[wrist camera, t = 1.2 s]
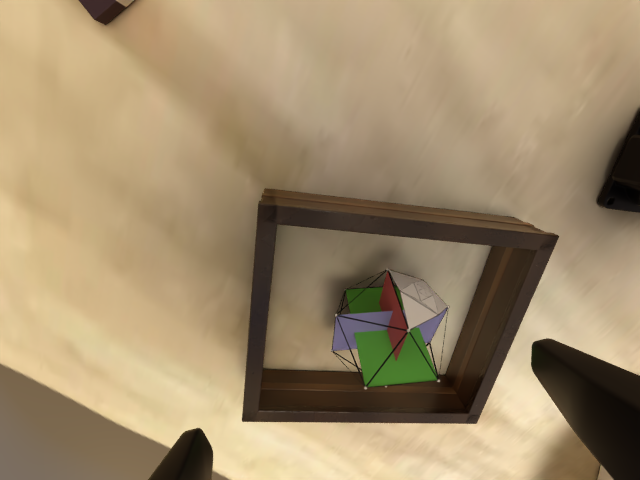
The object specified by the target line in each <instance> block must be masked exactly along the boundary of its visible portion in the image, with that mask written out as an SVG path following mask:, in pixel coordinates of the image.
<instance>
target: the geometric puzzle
mask: <svg viewBox="0 0 640 480" xmlns="http://www.w3.org/2000/svg"><path fill="white" fill-rule="evenodd" d="M386 271H387V274H386V278H385V281H384V285H383V287H371V288H368V287H369V286H370V285H371V284H372V283H373V282H375V281H376V280H377V279H378V278H379V277H380V276H381V275H382V274H381V275H380V276H379V277H378V278H377V279H376V280H375V281H373V282H372V283H371V284H370V285H369V286H368V287H367V288H356V289H348V288H347V289H346V288H345V289H344V290H345V292H346V295H347V300H348V304H347V305H349V310H350V314H343V315H341V311H342V310H343V309H344V308H345V307H346V306H347V305H346V306H345V307H344V308H343V309H342V307H341V311H339V312H340V315H337V314H338V313H339V312H338V310H337V312H338V313H336V314H335V316H336V318H335V327H334V336H333V345H332V349H331V352H333V353H334V354H335V355H336V354H337V353H335V352H334V351H337V350H348V349H350V352H351V354H352V351H351V349H358V354H359V358H360V363H361V368H362V369H360V368H358V366H357V363H356V361H355V359H354V356H353V354H352V357H353V359H354V362H355V364H356V367H357V369H358V371H359V369H360V370H362V373H363V378H364V381H363V378H362V376H361V373H360V371H359V374H360V376H361V379H362V381H363V384H364V385H363V384H362V385H363V386H364V389H367V388H370V387H381V386H385V387H387V386H392V385H402V384H411V383H421V382H431V381H437V382H440V380H439V378H438V374H437V369H436V365H435V361H434V357H433V353H432V348H431V344H430V343H431V340H432V338H433V336H434V334H435V332H436V330H437V328H438V326H439V324H440V322H441V321H442V319H443V317H444V315H445V313H446V311H447V309H448V308H449V307H450V306H449V305H446V304H445V302H444V301H443V300H442V299H441V298H440V297H439V296H438V295H437V294H436V293H435V292H434V291H433V290H432V288H431V287H430V286H429V285H428V284H427V283H426V282H425V281H424V280H422V279H419V278H415V277H412V276H409V275H405V274H402V273H399V272H395V271H392V270H389V269H388V268H387V269H386V270H385V272H386ZM383 272H384V271H383ZM385 272H384V273H385ZM381 273H382V272H381ZM384 273H383V274H384ZM379 274H380V273H379ZM390 274H391V275H390ZM391 276H392V278H393V280H394V282H395V283H396V285H397V286H394V284H393V281H392V278H391ZM372 277H373V276H372ZM370 278H371V277H370ZM368 279H369V278H368ZM366 280H367V279H366ZM364 281H365V280H364ZM362 282H363V281H362ZM360 283H361V282H360ZM358 284H359V283H358ZM349 288H350V287H349ZM345 292H344V294H343V296H344V297H345ZM342 298H343V297H342ZM341 301H342V300H341ZM343 301H344V298H343ZM340 304H341V302H340ZM342 306H343V302H342ZM339 307H340V305H339ZM338 309H339V308H338ZM447 314H448V311H447ZM446 321H447V319H446ZM445 329H446V326H445ZM444 337H445V334H444ZM425 343H428V344H430V349H431V353H432V357H433V362H434V366H435V369H434V366H433V364H432V361H431V358H430V356H429V353H428V350H427V348H426V346H427V345H428V344H427V345H425ZM443 345H444V342H443ZM442 352H443V349H442ZM337 355H338V354H337ZM339 356H340V355H339ZM340 357H341V356H340ZM342 358H343V357H342ZM343 359H345V358H343ZM345 360H346V359H345ZM441 360H442V357H441ZM346 361H348V360H346ZM341 362H342V361H341ZM348 362H349V361H348ZM342 363H343V362H342ZM349 363H351V362H349ZM343 364H344V363H343ZM351 364H352V363H351ZM344 365H345V364H344ZM352 365H354V364H352ZM345 366H346V365H345ZM354 366H355V365H354ZM346 367H347V366H346ZM440 368H441V365H440ZM435 370H436V372H435ZM352 374H353V373H352ZM353 375H354V374H353ZM354 376H355V375H354ZM439 376H440V373H439ZM355 377H356V376H355ZM356 378H357V377H356ZM357 379H358V378H357Z"/></svg>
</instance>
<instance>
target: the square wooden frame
mask: <svg viewBox="0 0 640 480" xmlns="http://www.w3.org/2000/svg"><path fill="white" fill-rule="evenodd" d="M277 224H280V225H290V226H300V227H310V228H320V229H330V230H340V231H350V232H360V233H370V234H380V235H390V236H400V237H410V238H420V239H430V240H440V241H450V242H460V243H470V244H480V245H490V246H493V247H492V249H491V252H490V255H489V258H488V260H487V263H486V266H485V268H484V271H483V274H482V277H481V279H480V282H479V285H478V288H477V290H476V293H475V296H474V299H473V301H472V304H471V307H470V310H469V312H468V315H467V318H466V321H465V323H464V326H463V329H462V332H461V334H460V337H459V340H458V342H457V345H456V348H455V351H454V353H453V356H452V359H451V362H450V364H449V367H448V370H447V373H446V375H440V376H439V375H438V378H439V380H440V382H437V381H431V382H421V383H411V384H402V385H392V386H387V387H385V386H381V387H370V388H367V389H364V386H363V385H364V384H363V381H364V378H363V373H361V376H362V378H363V381H362V379H361V376H360V374H359V373H356V372H325V371H295V370H265V369H263V361H264V351H265V341H266V331H267V321H268V311H269V301H270V291H271V281H272V271H273V260H274V250H275V240H276V230H277ZM558 238H559V236H558V235H556V234H554V233H547V232H544V231H542V230H540V229H538V228H536V227H534V225H532V224H529V223H525V222H523V221H521V220H519V219H517V218H514V217H508V216H499V215H491V214H482V213H473V212H465V211H456V210H447V209H439V208H430V207H421V206H413V205H404V204H396V203H387V202H378V201H370V200H361V199H352V198H344V197H335V196H326V195H318V194H309V193H301V192H292V191H283V190H275V189H266V188H265V189H264V193H262V199H261V201H259V204H258V216H257V229H256V242H255V255H254V269H253V282H252V295H251V308H250V322H249V335H248V348H247V361H246V375H245V388H244V401H243V415H242V421H243V422H344V423H456V424H477V422H478V419H479V417H480V415H481V413H482V410H483V408H484V406H485V404H486V401H487V399H488V397H489V395H490V392H491V390H492V388H493V385H494V383H495V381H496V379H497V376H498V374H499V372H500V370H501V367H502V365H503V363H504V361H505V358H506V356H507V354H508V351H509V349H510V347H511V345H512V342H513V340H514V338H515V336H516V333H517V331H518V329H519V326H520V324H521V322H522V320H523V317H524V315H525V313H526V311H527V308H528V306H529V304H530V302H531V299H532V297H533V295H534V292H535V290H536V288H537V286H538V283H539V281H540V279H541V277H542V274H543V272H544V270H545V268H546V265H547V263H548V261H549V258H550V256H551V254H552V252H553V249H554V247H555V245H556V243H557V240H558ZM352 373H353V374H354V375H355V376H356V377H357V378H358V379H357V378H356V377H355V376H354V375H353V374H352ZM362 384H363V385H362Z"/></svg>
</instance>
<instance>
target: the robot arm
mask: <svg viewBox="0 0 640 480" xmlns="http://www.w3.org/2000/svg"><path fill="white" fill-rule="evenodd" d="M607 201H608V202H607ZM598 204H599V205H600V206H601V207H605V208H608V209H616V210H624V211H632V212H640V112H639V114H638V117H637V119H636V121H635V123H634V125H633V127H632V129H631V132H630V134H629V136H628V138H627V140H626V142H625V144H624V147H623V149H622V151H621V153H620V155H619V157H618V159H617V162H616V164H615V166H614V168H613V170H612V172H611V174H610V176H609V179H608V181H607V183H606V185H605V187H604V189H603V191H602V194H601V196H600V198H599V201H598ZM531 366H532V370H533V372H534V374H535V375H536V377H537V378H538V380H539V381H540V383H541V384H542V386H543V387H544V388H545V390H546V391H547V393H548V394H549V396H550V397H551V399H552V400H553V402H554V403H555V405H556V406H557V407H558V409H559V410H560V412H561V413H562V415H563V416H564V418H565V419H566V421H567V422H568V423H569V425H570V426H571V428H572V429H573V430H574V432H575V433H576V434H577V436H578V437H579V438H580V439H581V441H582V442H583V443H584V444H585V445H586V447H587V448H588V449H589V450H590V452H591V453H592V454H593V455H594V456H595V458H596V459H597V460H598V461H599V463H600V464H601V465H602V466H603V467H604V469H605V470H606V471H607V472H608V473H609V475H610V476H611V477H612V478H613V480H640V376H639V375H636V374H634V373H632V372H629V371H627V370H624V369H622V368H620V367H617V366H615V365H612V364H610V363H608V362H605V361H603V360H600V359H598V358H596V357H593V356H591V355H589V354H586V353H584V352H581V351H579V350H577V349H574V348H572V347H569V346H567V345H565V344H562V343H560V342H557V341H555V340H552V339H543V340H539V341H535V342H534V343H533V344H532V356H531ZM212 467H213V450H212V447H211V445H210V443H209V441H208V439H207V438H206V436H205V434H204V432H203V431H202V429H200V428H196V429H192V430H188V431H185V432H184V433H183V434H182V435H181V436H180V438H179V439H178V440H177V442H176V443H175V444H174V446H173V447H172V448H171V450H170V451H169V452H168V454H167V455H166V456H165V458H164V459H163V460H162V462H161V463H160V465H159V466H158V467H157V469H156V470H155V471H154V473H153V474H152V475H151V477H150V478H149V479H148V480H212Z"/></svg>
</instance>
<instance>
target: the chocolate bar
mask: <svg viewBox="0 0 640 480" xmlns="http://www.w3.org/2000/svg"><path fill="white" fill-rule="evenodd" d="M79 1H80V2H81V4H82V5H83V6H84V7H85V9H86V10H87V11H88V12H89V14H90V15H91V16H92V17H93V18H94V20H96V21H98V22H100V23H102V24H105V25H106V24H107V23H108V22H109V21H110V20H112V19H113V18H114V17H115V16H116V15H118V14H119V13H120V12H121V11H122V10H123V9H125V8H126V7H127V6H128V5H129V4H130V3H132V2H133V1H134V0H79Z"/></svg>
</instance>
